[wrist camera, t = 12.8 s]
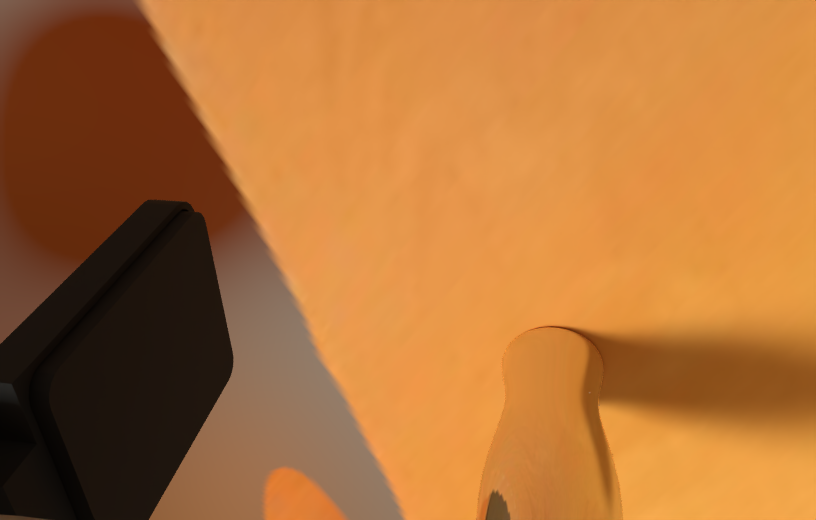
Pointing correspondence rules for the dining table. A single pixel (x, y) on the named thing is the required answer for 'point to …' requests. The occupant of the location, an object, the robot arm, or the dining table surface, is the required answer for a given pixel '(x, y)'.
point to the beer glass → (550, 435)
